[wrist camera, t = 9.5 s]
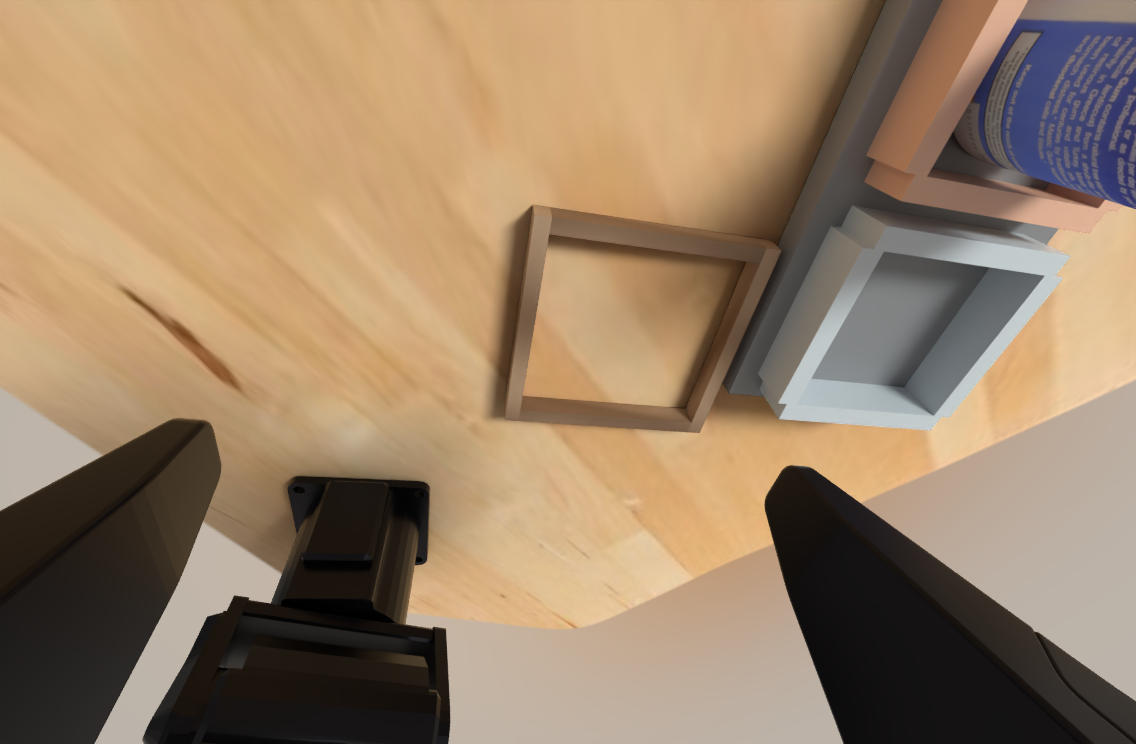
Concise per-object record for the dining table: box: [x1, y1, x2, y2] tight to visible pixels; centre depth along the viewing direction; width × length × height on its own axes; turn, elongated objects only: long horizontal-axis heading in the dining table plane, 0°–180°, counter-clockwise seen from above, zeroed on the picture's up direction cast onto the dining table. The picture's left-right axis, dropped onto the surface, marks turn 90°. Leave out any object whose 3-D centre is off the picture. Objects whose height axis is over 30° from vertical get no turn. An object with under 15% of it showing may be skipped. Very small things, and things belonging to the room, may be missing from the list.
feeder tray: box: [505, 205, 782, 433], centre depth 21 cm, size 9×9×1 cm
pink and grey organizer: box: [722, 0, 1123, 430], centre depth 18 cm, size 18×10×3 cm, turn 170°
